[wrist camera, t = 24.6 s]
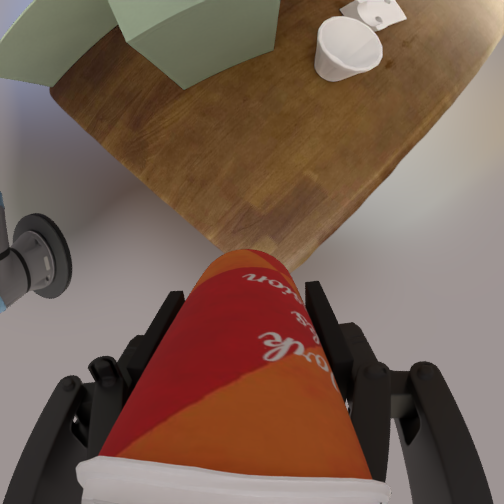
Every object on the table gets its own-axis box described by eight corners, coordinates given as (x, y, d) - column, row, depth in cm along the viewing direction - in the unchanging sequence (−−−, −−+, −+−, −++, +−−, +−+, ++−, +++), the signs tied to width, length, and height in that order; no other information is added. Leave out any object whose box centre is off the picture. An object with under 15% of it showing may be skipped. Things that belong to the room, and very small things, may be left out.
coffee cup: (317, 333, 18) (372, 547, 4) (203, 350, 19) (158, 553, 4) (301, 214, 15) (473, 491, 1) (166, 242, 16) (-11, 458, 2)
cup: (293, 54, 39) (304, 23, 26) (338, 40, 37) (360, 10, 25) (320, 98, 42) (341, 79, 29) (364, 82, 40) (395, 62, 28)
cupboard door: (45, 71, 38) (-24, 56, 15) (126, -4, 32) (75, -52, 10) (52, 87, 39) (-21, 75, 17) (137, 9, 34) (84, -43, 12)
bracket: (358, 36, 37) (378, 30, 31) (339, 9, 34) (356, -1, 27) (397, 21, 34) (418, 16, 28) (380, -5, 31) (399, -13, 24)
